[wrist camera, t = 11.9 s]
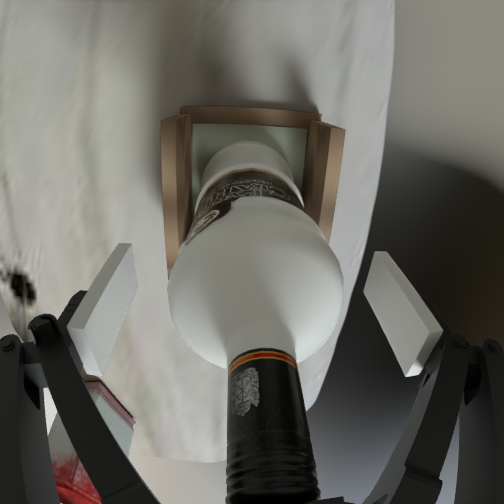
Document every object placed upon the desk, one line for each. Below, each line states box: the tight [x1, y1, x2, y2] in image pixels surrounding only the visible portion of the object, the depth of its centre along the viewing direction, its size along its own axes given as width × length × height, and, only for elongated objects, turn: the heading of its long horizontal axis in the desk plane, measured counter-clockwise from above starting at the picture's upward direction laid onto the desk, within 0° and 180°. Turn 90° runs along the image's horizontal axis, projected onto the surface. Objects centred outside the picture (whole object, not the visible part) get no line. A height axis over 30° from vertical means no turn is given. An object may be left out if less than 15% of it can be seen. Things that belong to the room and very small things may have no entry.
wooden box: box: [161, 106, 345, 280], centre depth 30 cm, size 16×14×9 cm
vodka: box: [167, 141, 344, 504], centre depth 19 cm, size 9×9×30 cm
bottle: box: [48, 382, 135, 504], centre depth 39 cm, size 14×10×30 cm
